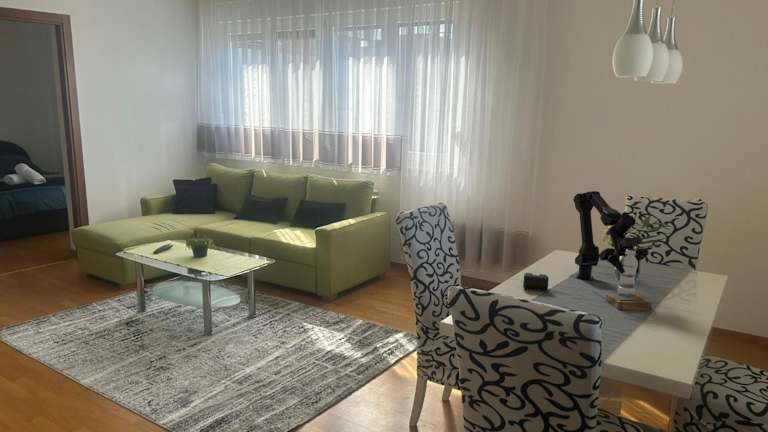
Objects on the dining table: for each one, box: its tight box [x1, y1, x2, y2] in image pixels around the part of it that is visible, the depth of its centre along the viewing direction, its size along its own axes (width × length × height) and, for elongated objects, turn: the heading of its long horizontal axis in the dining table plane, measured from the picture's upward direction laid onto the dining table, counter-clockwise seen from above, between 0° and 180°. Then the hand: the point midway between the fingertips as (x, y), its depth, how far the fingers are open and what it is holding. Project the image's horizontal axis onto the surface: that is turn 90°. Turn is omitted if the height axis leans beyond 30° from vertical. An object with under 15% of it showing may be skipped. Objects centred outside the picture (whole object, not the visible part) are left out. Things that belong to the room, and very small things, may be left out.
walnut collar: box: [605, 292, 653, 311], centre depth 230 cm, size 10×13×3 cm
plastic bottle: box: [616, 248, 638, 299], centre depth 230 cm, size 6×7×20 cm
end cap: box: [522, 272, 550, 292], centre depth 245 cm, size 10×7×7 cm
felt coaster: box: [592, 289, 633, 302], centre depth 241 cm, size 12×12×1 cm
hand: (630, 273), depth 229 cm, fingers closed on plastic bottle, 6 cm apart
